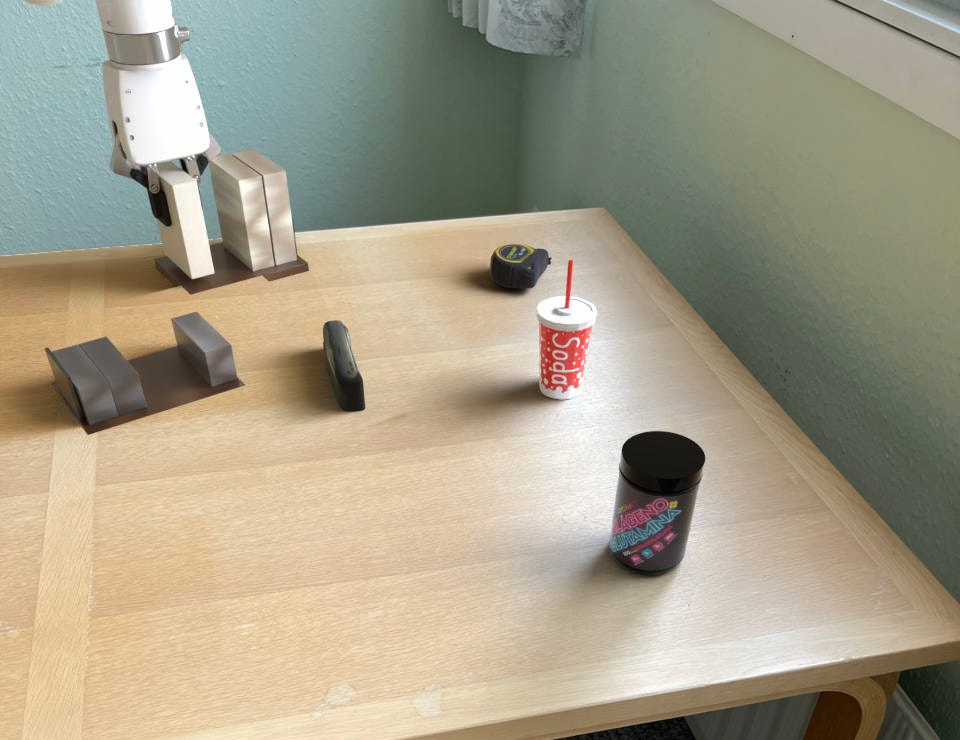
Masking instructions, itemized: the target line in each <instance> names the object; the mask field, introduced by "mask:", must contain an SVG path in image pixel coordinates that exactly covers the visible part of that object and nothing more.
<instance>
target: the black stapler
mask: <svg viewBox="0 0 960 740" xmlns="http://www.w3.org/2000/svg"><path fill="white" fill-rule="evenodd" d="M322 337H323V338H322V340H323V342H322V348H323V357H324V358H323V359H324V365H325V369H326V373H327V375H328V378H329V382H330V385H331V388H332V390H333V394H334V396H335V399H336V401H337V404H338V407H339V409H340V410H341V411H344V412H347V413H354V412H363V411H364V410H366V399H365V386H364V380H363V377H362V375H361V373H360V371H359V367H358V364H357V362H356V359H355V356H354V353H353V351H352V342H351V341H352V340H351V334H350V332H349V328H348V327H347V326H346V325H345V324H343V322H342V321H341V320H338V319H337V320H336V319H335V320H334V319H333V320H328V321H326V322H324V324H323V327H322Z"/></svg>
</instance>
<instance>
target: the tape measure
mask: <svg viewBox="0 0 960 740" xmlns="http://www.w3.org/2000/svg"><path fill="white" fill-rule="evenodd" d="M552 258H553V257H550V255H549V252H548V250H546V249H545V248H538V247H537V248H534V247H532V246H530V245H528V244H523V243H508V244H504V245H501V246H499V247H497V248H496V249H495V250H494V251H493V252H492V254H491V257H490V264H489V266H490V267H489V272H490V273H489V274H490V277H491V279H492V280H493V281H494V282H495V283H496V284H498V285H500V286H502V287H505V288H509V289H533V288H535V287H536V285H537V283H538V280H539V279H540V278H541V276H543V274H544V273H545V272H546V270H547V268H548V266H550V265H551V264H552Z"/></svg>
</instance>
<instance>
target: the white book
mask: <svg viewBox="0 0 960 740" xmlns="http://www.w3.org/2000/svg"><path fill="white" fill-rule="evenodd" d="M157 169H158V178H159V185H160V186H161V190H162V191H164V192H165V195H166V199H167V203H168V208H169V213H170V217H171V222H172V225H171V226H169V227H166V226H165V225H164V224H163V223H161V222H160V221H159V220H158V219H156V218H155V221H156V224H157V229H158V233H159V237H160V242H161V246H162V250H163V254H164V255H165V256H167V257H168V258H170V259H171V260H172V261H173V262H174V263H175V264H176V265H177V266H178V267H179V268H180V269H181V270H183V271H184V272H185V273H186V274H187V275H188V276H189V277H190V278H191V279H195V278H199V277H203V276H207V275H210V274H214V268H213V263H212V258H211V252H210V247H209V245H210V243H209V237H208V231H207V228H206V223H205V217H204V211H203V205H202V206H201V202H202V200H201V201H200V196H201V195H200V196H199V191H200V190H199V191H198V186H199V185H198V186H197V181H196V180H195V179H194V178H192V177H191V176H190V175H188V174H187V173H186V172H185V171H183V170H182V169H181V167H180V166H178V165H177V164H175V163H174V162H173V160H172V161H167V162H162V163H157Z"/></svg>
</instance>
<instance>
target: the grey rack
mask: <svg viewBox="0 0 960 740" xmlns="http://www.w3.org/2000/svg"><path fill="white" fill-rule="evenodd" d="M170 320H171V324H172V329H173V333H174V338H175V342H176V346H172V347H169V348H165V349H162V350H158V351H155V352H151V353H148V354H145V355H141V356H137V357H134V358H131V359H130V358H129V359H127V358H125V356H124V355H123V354H122V353H121V351H119V349H118V348H117V347H116V346H115V344H114V343H113V342H112V341H111V340H110V339H109V338H108V336H103V337H100V338H95V339H91V340H88V341H84V342H81V343H78V344H74V345H70V346H67V347H63V348H59V349H56V350H51V349H50V348H49V347H45V348H44V351H45V354H46V358H47V360H48V364H49V366H50V369H51V372H52V375H53V377H54V381H51V382H50V385H51V386H52V387H53V389H54V390H55V392H56V393H57V395H58V396H59V397H60V399H61V401H63V403H64V404H65V406H66V407H67V408H68V409H69V411H70V412H71V414H72V415H73V416H74V418H75V419H76V420H77V422H78V423H79V425H80V426H81V427H82V429H83V430H84V432H85V433H86V435H87V436H89V435H93V434H96V433H100V432H102V431H105V430H108V429H111V428H112V429H113V428H115V427H119V426H121V425H124V424H128V423H131V422H134V421H137V420H140V419H143V418H147V417H149V416H153V415H156V414H159V413H162V412H165V411H169V410H172V409H175V408H178V407H181V406H184V405H187V404H191V403H195V402H197V401H200V400H204V399H207V398H209V397H212V396H216V395H219V394H222V393H226V392H229V391H231V390H235V389H239V388H241V387H245V386H246V384H245V383H244V381H242V380H241V378H240V377H239V376H238V373H237V368H236V361H235V357H234V352H233V347H232V343H230V342H229V341H228V340H227V339H226V338H225V337H224V336H223V335H222V334H221V333H220V332H219V331H218V330H217V329H215V328H214V326H213V325H211V323H209V322H208V321H207V320H206V319H205V318H204V317H203V316H202V315H201V314H200V313H199V312H198V311H193V312H190V313H185V314H183V315H179V316H175V317H171V319H170Z"/></svg>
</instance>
